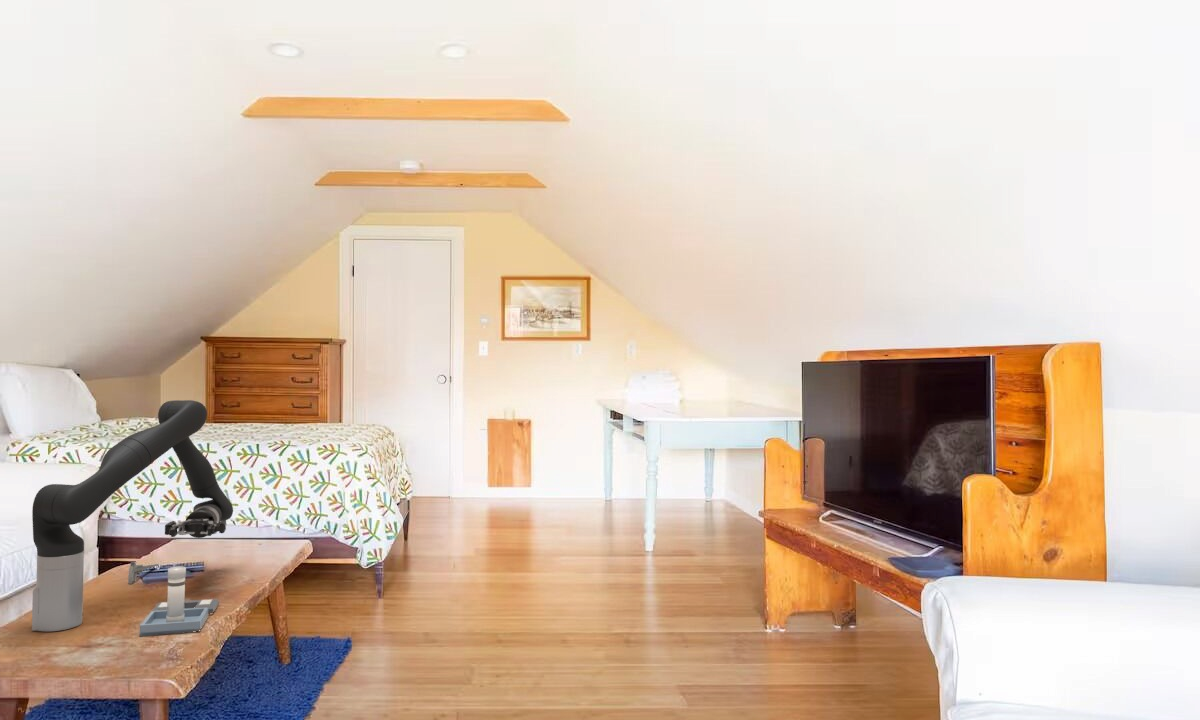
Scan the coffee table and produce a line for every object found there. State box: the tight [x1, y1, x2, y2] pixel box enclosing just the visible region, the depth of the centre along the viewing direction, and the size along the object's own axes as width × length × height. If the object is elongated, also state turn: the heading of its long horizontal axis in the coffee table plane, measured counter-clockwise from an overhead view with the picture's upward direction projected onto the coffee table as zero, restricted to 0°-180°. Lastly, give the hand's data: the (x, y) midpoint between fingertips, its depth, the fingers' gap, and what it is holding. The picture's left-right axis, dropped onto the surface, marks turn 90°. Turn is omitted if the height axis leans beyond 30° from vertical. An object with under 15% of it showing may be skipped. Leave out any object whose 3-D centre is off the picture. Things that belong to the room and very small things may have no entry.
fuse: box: [166, 565, 187, 623], centre depth 190 cm, size 4×4×13 cm
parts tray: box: [139, 608, 209, 637], centre depth 190 cm, size 12×11×2 cm
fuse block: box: [151, 598, 220, 614], centre depth 201 cm, size 14×9×2 cm, turn 107°
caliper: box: [127, 561, 159, 585], centre depth 235 cm, size 20×1×6 cm, turn 9°
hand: (191, 532), depth 206 cm, fingers open, 8 cm apart
